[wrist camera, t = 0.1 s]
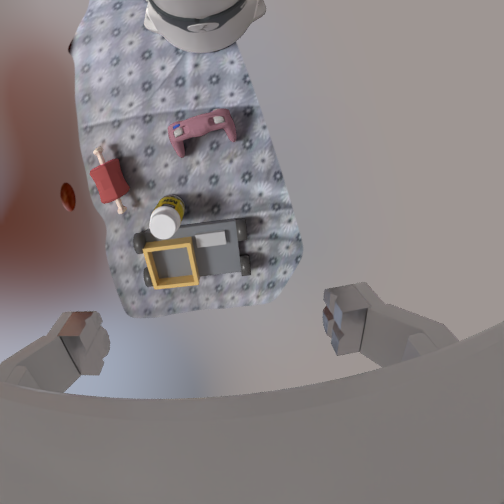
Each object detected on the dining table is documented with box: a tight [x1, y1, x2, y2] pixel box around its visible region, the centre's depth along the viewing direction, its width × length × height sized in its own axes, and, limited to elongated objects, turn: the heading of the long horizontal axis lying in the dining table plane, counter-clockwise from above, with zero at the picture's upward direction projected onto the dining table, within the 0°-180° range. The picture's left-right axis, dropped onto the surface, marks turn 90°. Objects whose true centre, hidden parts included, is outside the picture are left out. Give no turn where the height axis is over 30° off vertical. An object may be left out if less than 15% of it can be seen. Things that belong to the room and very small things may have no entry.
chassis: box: [133, 219, 251, 289], centre depth 50 cm, size 11×19×4 cm, turn 95°
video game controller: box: [168, 109, 237, 158], centre depth 40 cm, size 10×5×7 cm, turn 105°
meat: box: [90, 147, 130, 214], centre depth 42 cm, size 12×5×5 cm, turn 15°
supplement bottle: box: [149, 195, 185, 239], centre depth 44 cm, size 5×5×8 cm
